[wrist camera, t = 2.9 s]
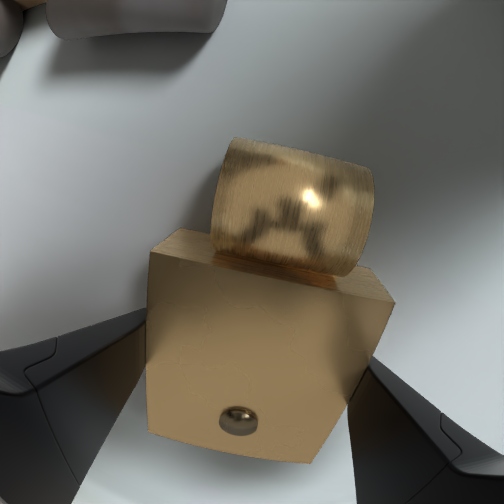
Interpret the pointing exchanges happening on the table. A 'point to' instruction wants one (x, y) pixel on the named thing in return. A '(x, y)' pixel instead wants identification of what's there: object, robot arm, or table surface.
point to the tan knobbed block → (265, 307)
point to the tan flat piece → (111, 17)
